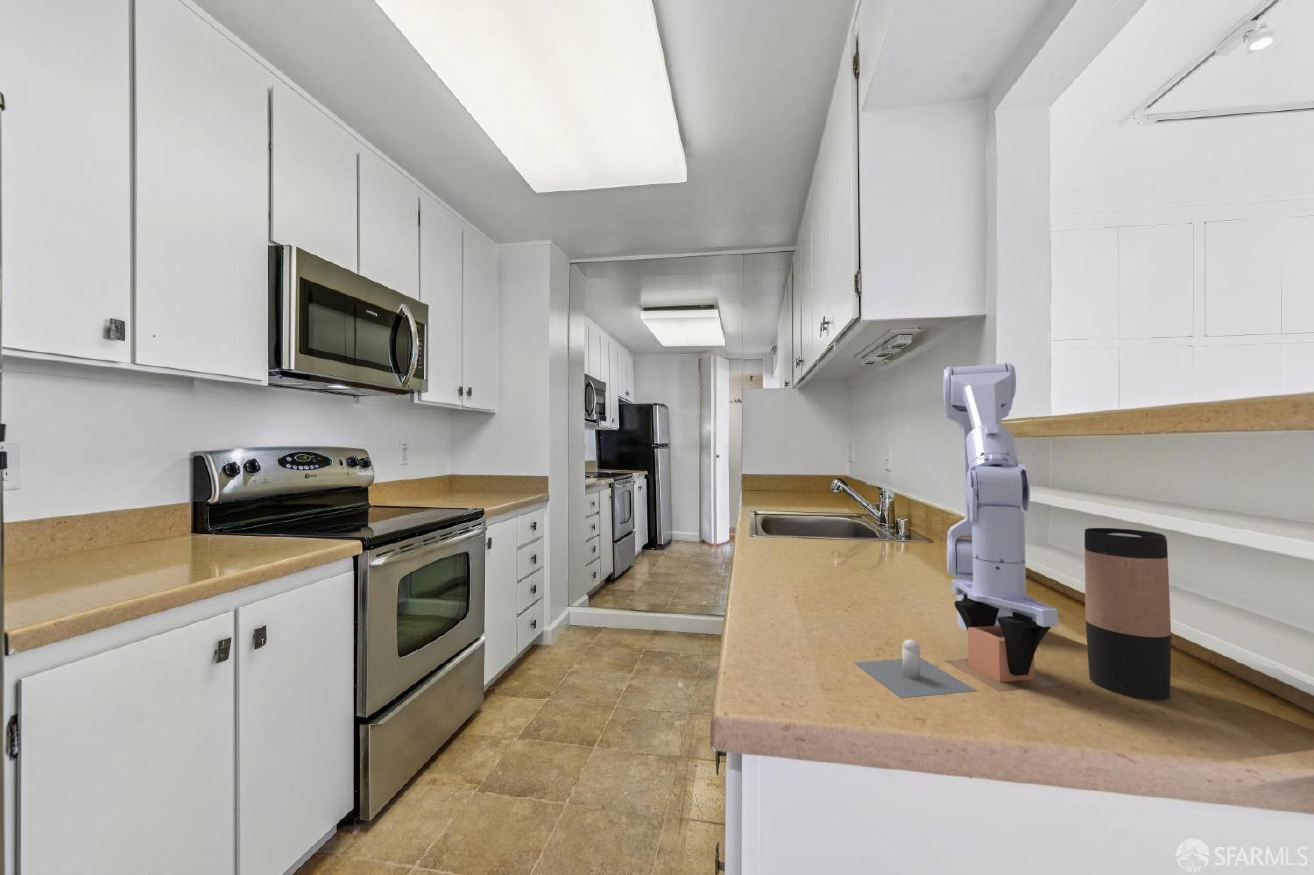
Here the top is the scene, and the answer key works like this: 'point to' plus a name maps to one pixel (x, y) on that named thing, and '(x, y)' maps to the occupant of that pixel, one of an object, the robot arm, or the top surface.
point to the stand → (1003, 686)
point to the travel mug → (1128, 612)
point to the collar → (992, 654)
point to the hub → (913, 675)
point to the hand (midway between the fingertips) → (1000, 664)
